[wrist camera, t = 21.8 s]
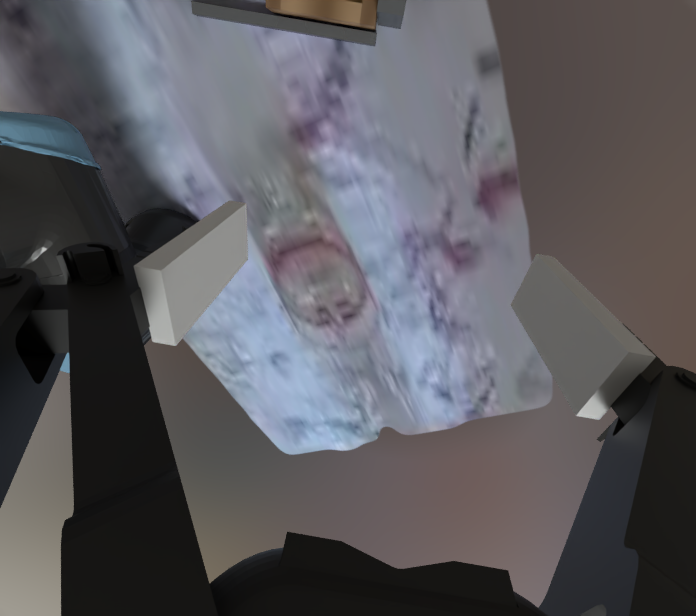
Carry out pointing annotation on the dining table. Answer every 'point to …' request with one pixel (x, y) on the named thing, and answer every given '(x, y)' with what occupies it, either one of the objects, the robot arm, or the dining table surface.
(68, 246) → the robot arm
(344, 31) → the track
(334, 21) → the tray
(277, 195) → the dining table surface
